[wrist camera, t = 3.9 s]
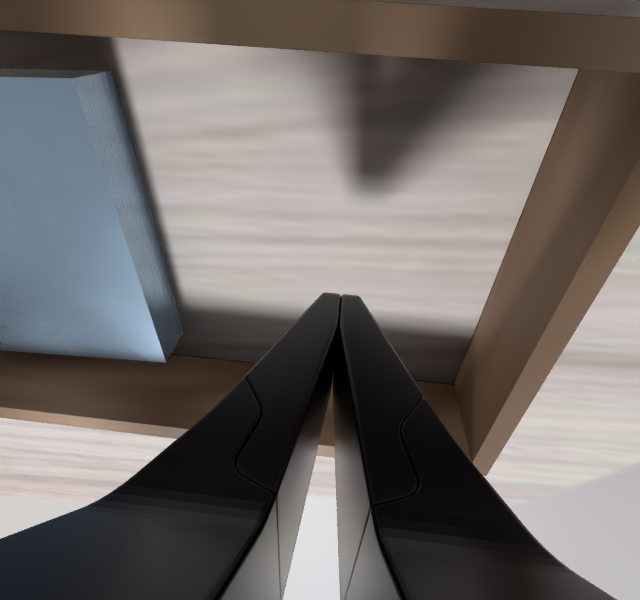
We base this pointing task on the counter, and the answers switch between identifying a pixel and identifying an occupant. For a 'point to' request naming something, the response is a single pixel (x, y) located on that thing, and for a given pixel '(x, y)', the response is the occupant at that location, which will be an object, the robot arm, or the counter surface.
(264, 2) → the open box
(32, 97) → the cover plate
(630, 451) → the counter surface
